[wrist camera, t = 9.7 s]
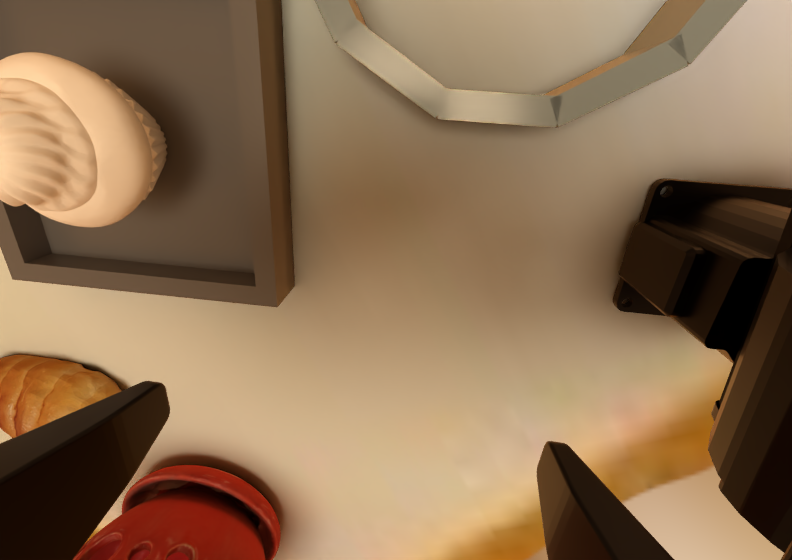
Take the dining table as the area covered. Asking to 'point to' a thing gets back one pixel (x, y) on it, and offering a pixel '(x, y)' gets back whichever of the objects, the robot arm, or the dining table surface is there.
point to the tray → (173, 149)
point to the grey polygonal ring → (639, 66)
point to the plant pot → (189, 520)
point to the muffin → (73, 142)
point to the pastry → (46, 391)
